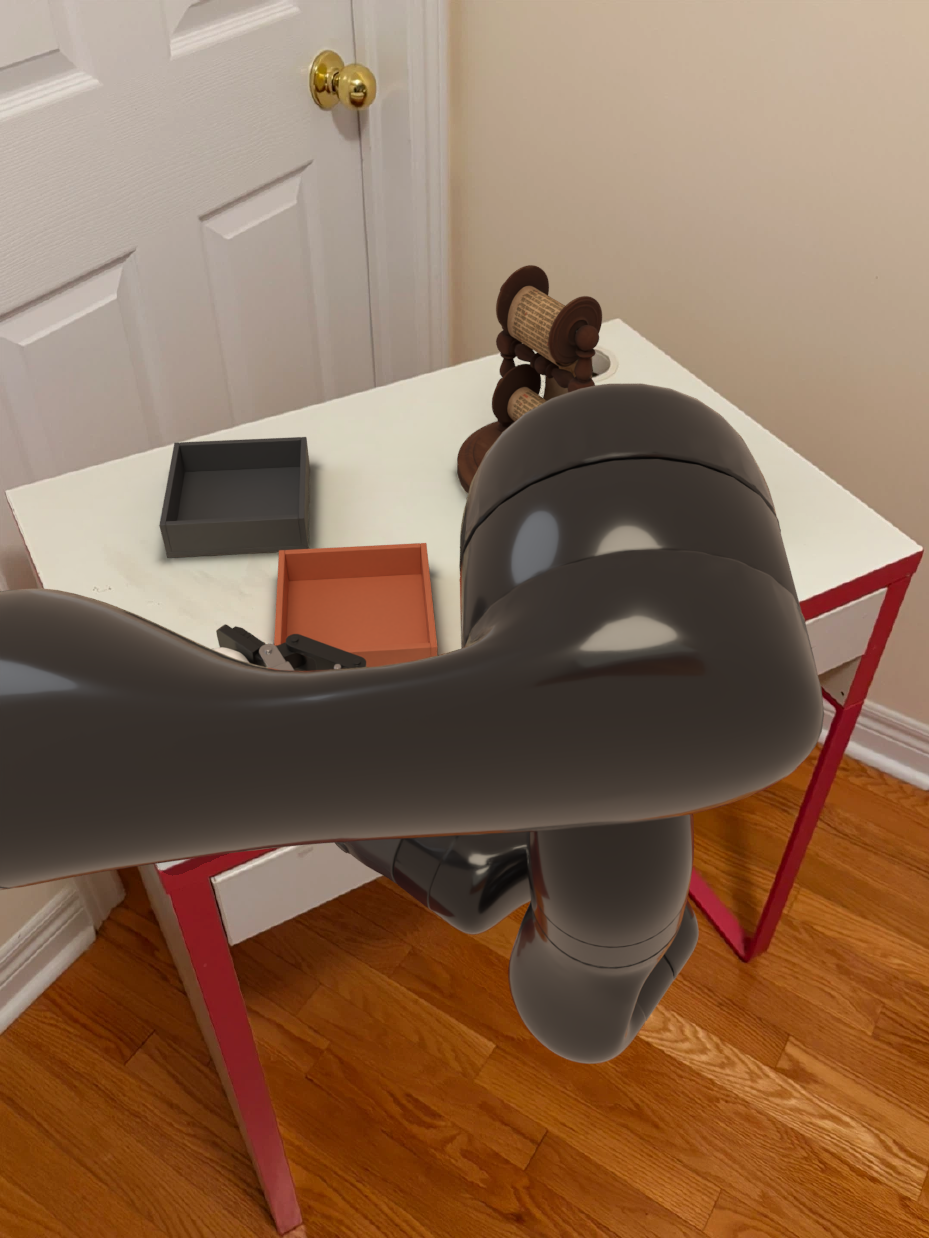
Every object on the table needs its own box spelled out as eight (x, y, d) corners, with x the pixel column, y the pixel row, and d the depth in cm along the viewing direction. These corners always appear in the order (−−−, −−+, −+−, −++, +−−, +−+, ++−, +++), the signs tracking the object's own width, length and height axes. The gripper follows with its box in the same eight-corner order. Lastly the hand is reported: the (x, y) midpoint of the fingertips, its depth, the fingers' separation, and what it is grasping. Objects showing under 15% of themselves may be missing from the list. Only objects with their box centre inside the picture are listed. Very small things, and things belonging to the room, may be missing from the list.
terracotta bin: (278, 689, 79) (273, 656, 76) (283, 582, 88) (278, 550, 85) (437, 679, 80) (437, 646, 77) (427, 575, 88) (426, 542, 86)
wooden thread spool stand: (648, 493, 97) (681, 291, 83) (525, 555, 90) (539, 347, 76) (544, 421, 105) (559, 226, 91) (425, 473, 99) (421, 272, 85)
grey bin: (167, 558, 90) (159, 525, 87) (181, 474, 98) (174, 442, 96) (308, 550, 91) (304, 518, 88) (310, 468, 99) (306, 436, 97)
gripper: (453, 681, 64) (262, 562, 72) (280, 833, 56) (86, 680, 64) (453, 758, 69) (275, 639, 77) (294, 907, 61) (114, 757, 69)
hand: (190, 658), depth 70 cm, fingers closed on milkshake, 4 cm apart
